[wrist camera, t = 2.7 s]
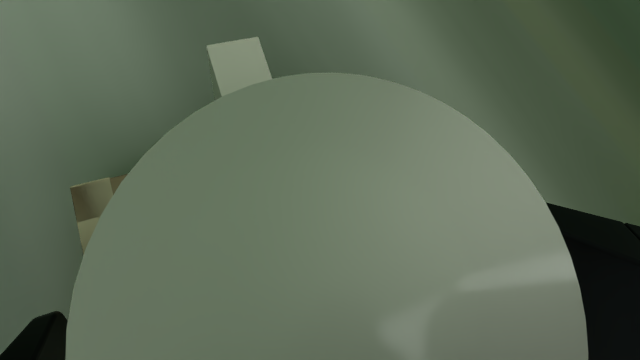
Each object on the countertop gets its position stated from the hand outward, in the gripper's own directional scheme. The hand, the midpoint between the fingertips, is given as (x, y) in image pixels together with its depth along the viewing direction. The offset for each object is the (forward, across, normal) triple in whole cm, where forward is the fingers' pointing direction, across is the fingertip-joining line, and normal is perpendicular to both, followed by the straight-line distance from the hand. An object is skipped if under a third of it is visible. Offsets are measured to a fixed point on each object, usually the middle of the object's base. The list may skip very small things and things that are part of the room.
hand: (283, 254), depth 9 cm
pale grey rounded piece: (+5, 0, +5) cm, 7 cm away
